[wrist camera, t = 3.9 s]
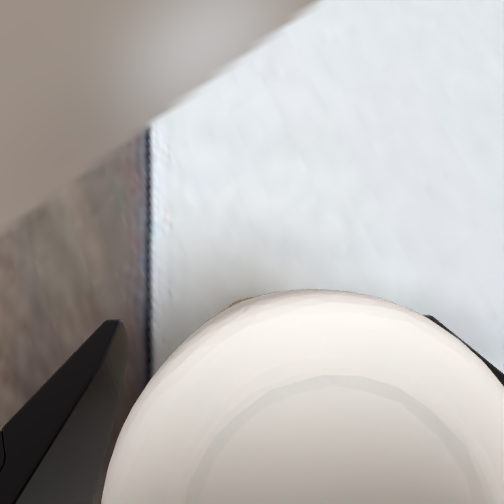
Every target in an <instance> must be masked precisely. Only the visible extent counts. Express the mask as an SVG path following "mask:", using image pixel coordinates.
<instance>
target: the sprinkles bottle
mask: <svg viewBox="0 0 504 504" xmlns="http://www.w3.org/2000/svg"><path fill="white" fill-rule="evenodd" d="M101 504H504V386H503V385H502V384H501V383H500V381H499V380H498V379H497V378H496V376H495V375H494V374H493V373H492V371H491V370H490V369H489V368H488V367H487V365H486V364H485V363H484V362H483V361H482V360H481V359H480V358H479V357H478V356H477V355H476V354H474V353H473V352H472V351H471V350H470V349H469V348H468V347H467V346H466V345H465V344H464V343H463V342H461V341H460V340H459V339H458V338H456V337H455V336H453V335H452V334H450V333H449V332H448V331H446V330H445V329H443V328H442V327H440V326H439V325H437V324H436V323H434V322H433V321H431V320H430V319H429V318H427V317H425V316H423V315H421V314H419V313H417V312H415V311H413V310H411V309H408V308H405V307H402V306H400V305H397V304H394V303H392V302H389V301H386V300H383V299H380V298H376V297H372V296H368V295H363V294H358V293H352V292H346V291H333V290H319V289H307V290H290V291H281V292H274V293H269V294H265V295H261V296H257V297H253V298H247V299H244V300H240V301H238V302H235V303H233V304H232V305H230V306H229V307H228V308H227V309H225V310H224V311H222V312H221V313H219V314H218V315H216V316H214V317H213V318H211V319H210V320H208V321H207V322H206V323H204V324H203V325H202V326H201V327H199V328H198V329H197V330H196V331H194V332H193V333H192V334H191V335H190V336H189V337H188V338H187V339H186V340H185V341H184V342H183V343H182V344H181V345H180V346H179V347H178V348H177V349H176V350H175V351H174V352H173V353H172V354H171V355H170V356H169V357H168V358H167V360H166V361H165V362H164V363H163V365H162V366H161V367H160V368H159V369H158V371H157V372H156V373H155V374H154V376H153V377H152V378H151V380H150V381H149V383H148V384H147V386H146V387H145V389H144V390H143V392H142V393H141V395H140V396H139V398H138V399H137V401H136V402H135V404H134V405H133V407H132V409H131V411H130V413H129V415H128V417H127V419H126V421H125V423H124V425H123V427H122V429H121V432H120V434H119V436H118V439H117V442H116V445H115V448H114V451H113V454H112V457H111V460H110V463H109V466H108V470H107V475H106V480H105V485H104V490H103V495H102V500H101Z"/></svg>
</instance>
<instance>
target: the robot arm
mask: <svg viewBox="0 0 504 504" xmlns="http://www.w3.org/2000/svg"><path fill="white" fill-rule="evenodd" d="M423 316H425V317H427V318H429V319H430V320H431V321H433V322H434V323H436V324H437V325H439V326H440V327H442V328H443V329H445V330H446V331H448V332H449V333H450V334H452V335H453V336H455V337H456V338H458V339H459V340H460V341H461V342H463V343H464V344H465V345H466V346H467V347H468V348H469V349H470V350H471V351H472V352H473V353H474V354H476V355H477V356H478V357H479V358H480V359H481V360H482V361H483V362H484V363H485V364H486V365H487V367H488V368H489V369H490V370H491V371H492V373H493V374H494V375H495V376H496V378H497V379H498V380H499V381H500V383H501V384H502V385H503V386H504V374H503V373H502V372H501V371H499V370H498V369H497V368H496V367H494V366H493V365H492V364H491V363H490V362H488V361H487V360H486V359H485V358H483V357H482V356H481V355H480V354H478V353H477V352H476V351H475V350H474V349H472V348H471V347H470V346H469V345H467V344H466V343H465V342H464V341H462V340H461V339H460V338H459V337H458V336H456V335H455V334H454V333H453V332H451V331H450V330H449V329H448V328H446V327H445V326H444V325H443V324H442V323H440V322H439V321H438V320H437V319H435V318H434V317H433V316H431V315H423ZM128 346H129V341H128V336H127V333H126V329H125V326H124V323H123V321H122V320H106V321H105V322H104V323H103V324H102V325H101V326H100V327H99V328H98V329H97V330H96V331H95V332H94V333H93V334H92V335H91V336H90V337H89V338H88V339H87V340H86V341H85V342H84V343H83V344H82V345H81V346H80V348H79V349H78V350H77V351H76V352H75V353H74V354H73V355H72V356H71V357H70V358H69V359H68V360H67V361H66V362H65V363H64V364H63V365H62V366H61V367H60V368H59V369H58V370H57V371H56V372H55V373H54V375H53V376H52V377H51V378H50V379H49V380H48V381H47V382H46V383H45V384H44V385H43V386H42V387H41V388H40V389H39V390H38V391H37V392H36V393H35V394H34V395H33V396H32V397H31V398H30V399H29V401H28V402H27V403H26V404H25V405H24V406H23V407H22V408H21V409H20V410H19V411H18V412H17V413H16V414H15V415H14V416H13V417H12V418H11V419H10V420H9V421H8V422H7V423H6V424H5V425H4V426H3V428H2V431H0V504H92V503H93V499H94V495H95V492H96V488H97V484H98V481H99V477H100V473H101V470H102V466H103V463H104V459H105V455H106V452H107V448H108V444H109V441H110V437H111V433H112V430H113V426H114V422H115V419H116V415H117V411H118V407H119V403H120V398H121V393H122V386H123V380H124V373H125V367H126V360H127V353H128Z"/></svg>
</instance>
